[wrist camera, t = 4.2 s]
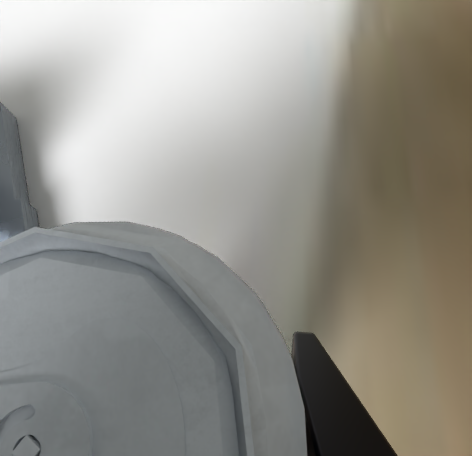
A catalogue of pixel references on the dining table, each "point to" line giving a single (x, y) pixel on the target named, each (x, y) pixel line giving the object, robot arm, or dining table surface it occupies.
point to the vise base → (13, 181)
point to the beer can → (137, 350)
